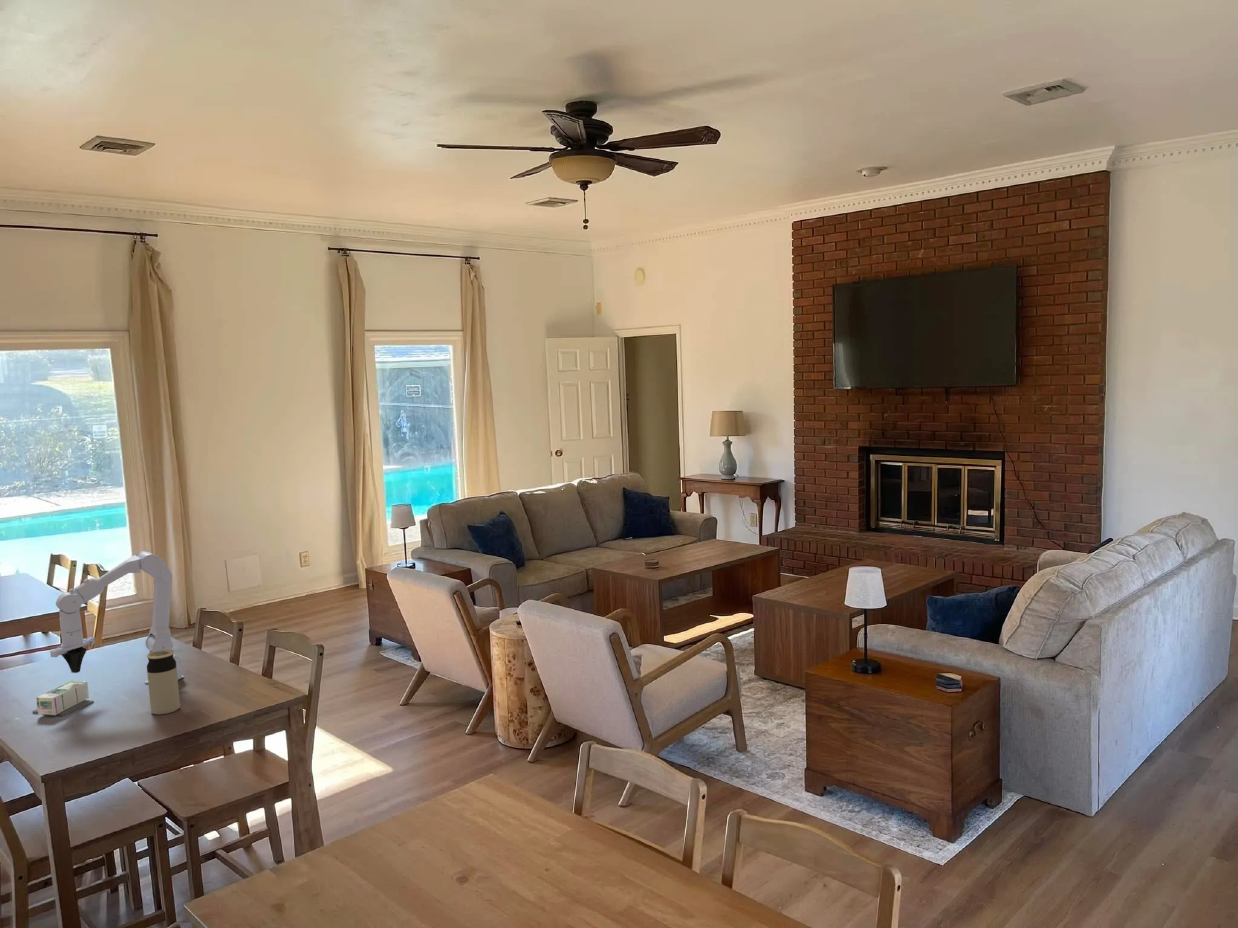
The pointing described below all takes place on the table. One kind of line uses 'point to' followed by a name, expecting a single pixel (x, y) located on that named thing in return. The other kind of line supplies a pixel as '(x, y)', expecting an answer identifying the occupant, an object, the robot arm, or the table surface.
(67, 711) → the mat
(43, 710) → the syrup box
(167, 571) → the robot arm
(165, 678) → the travel mug
